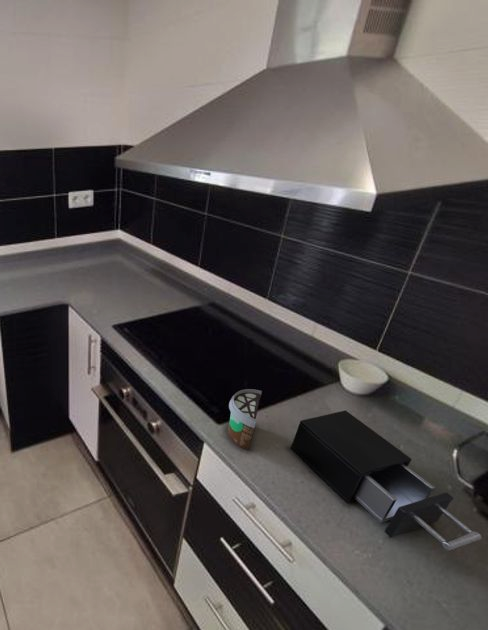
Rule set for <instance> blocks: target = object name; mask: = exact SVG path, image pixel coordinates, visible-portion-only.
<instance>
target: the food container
mask: <svg viewBox="0 0 488 630" xmlns="http://www.w3.org/2000/svg"><path fill="white" fill-rule="evenodd" d="M262 393H263V391H262V390H259V389H252V388H251V389H250V388H246V389H241V390H239V391H237V392H235V394H234V395H232V397H231V398H230V400H229V403H228V409H229V412H230V417H229V422H228V429H227V435H228V436H229V439H230V440H231V441H232V442H233V443H234V444H235V445H236V446H237V447H239V448H241V449H243V450H246V451H248V450H249V446H250V443H251V440H252V437H253V433H254V430H255V427H256V423H257V415H258V410H259V409H258V408H259V403H260V399H261V397H262Z"/></svg>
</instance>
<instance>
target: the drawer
mask: <svg viewBox="0 0 488 630" xmlns="http://www.w3.org/2000/svg"><path fill="white" fill-rule="evenodd" d="M435 487H436V486H434V485H433V484H431V483H430V482H428V481H427V480H426V479H424V478H423V477H422V476H420V474H418V473H417V472H415V471H414V470H413V469H411V468H410V467H409V466H408V467H407V466H406V465H405V464H401V465H397V466H394V467H390V468H387V469H383V470H380V471H376V472H372V473H369V474H365V475H363V477H362V479H361V481H360V483H359V485H358V487H357V489H356V490H355V492H354V494H353V497H354V498H355V499H356V501H357V502H358V503H359V504H360V505H361V506H362V507H363V508H364V509H365V510H366V511H367V512H368V513H369V514H370V515H372V516H373V517H374V518H375V519H376V520H377V521H378V523H380V524H382V523H385V522H388V521H389V523H388V525H387V526H386V527H385V529H384V533H385V534H386V535H387V536H388V537H389V538H392V537H396V536H400V535H402V534H405V533H408V532H411V531H414V530H418V529H421V528H423V529H425V531H427V532H428V533H429V534H430V535H431V536H433V537H434V538H435V539H436V540H437V541H439V542H440V543H441V545H442V547H443V549H444V550H446V551H448V552H451V551H453V550H456V549H460V548H462V547H464V546H468V545H469V544H472V543H475V542H478V541H480V540H482V535H481V534H480V532H477V531H473V530H471V528H469V527H468V526H467V525H465V523H463V522H462V521H460V520H459V519H458V518H457V517H456V516H454V515H452V513H450V512H449V511H447V508H448V507H449V505H450V504H451V502H452V501H453V500H454V496H453V495H451V494H450V493H448V492H442V493H440V494H436V495H432V496H431V494H432V493H433V491H434V490H435ZM442 515H444V516H445V517H447V518H448V519H449V520H450V521H451V522H453V523H454V524H455V525H456V526H457V527H459V528H460V529H461V530H463V531H464V532H465V533H466V534H463V535H461V536H458V537H455V538H452V539H449V540H446V539H445V538H444V537H443V536H442V535H441V534H439V533H438V532H437V531H436V530H435V529H433V527H431V526H430V525H432V524H435V523H437V522H439V520H440V518H441V517H442Z"/></svg>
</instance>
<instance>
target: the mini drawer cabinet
mask: <svg viewBox="0 0 488 630" xmlns="http://www.w3.org/2000/svg"><path fill="white" fill-rule="evenodd" d="M290 450H291V452H293V453H294V454H295V455H296V457H298V458H299V459H300V460H301V461H302V462H303V463H304V464H305V465H306V466H307V467H309V469H311V470H312V472H313V473H315V474H316V475H317V476H318V477H319V478H320V479H321V480H322V481H323V482H324V483H325V484H326V485H327V486H328V487H329V488H330V489H331V490H332V491H333V492H334V493H335V494H336V495H337V496H338V497H339V498H340V499H341V500H343V501H344V502H345V504H348V503H352V502H356V501H357V500H356V499H355V498H354V497H353V494H354V492H355V490H356V489H357V487H358V485H359V483H360V481H361V479H362V477H363V475H365V474H369V473H372V472H376V471H380V470H383V469H387V468H390V467H394V466H397V465H401V464H405V465H406V466H407V467H409V465H410V463H411V462H412V458H411V457H410V456H409V455H407V454H405V453H404V452H403V451H402V450H401V449H399V448H398V447H396V445H393V444H392V443H391V442H390V441H388V440H387V439H385V438H384V437H383V436H381V435H380V434H379V433H378V432H376V431H375V430H373V429H372V428H370V427H369V426H368V425H366V424H365V422H362V421H361V420H360V419H359V418H357V417H356V416H354V415H352V413H350V412H349V411H347V410H340V411H336V412H333V413H327V414H323V415H319V416H315V417H311V418H310V417H309V418H306V419H301V420H300V421H299V424H298V427H297V429H296V432H295V435H294V438H293V441H292V443H291V447H290Z"/></svg>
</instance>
